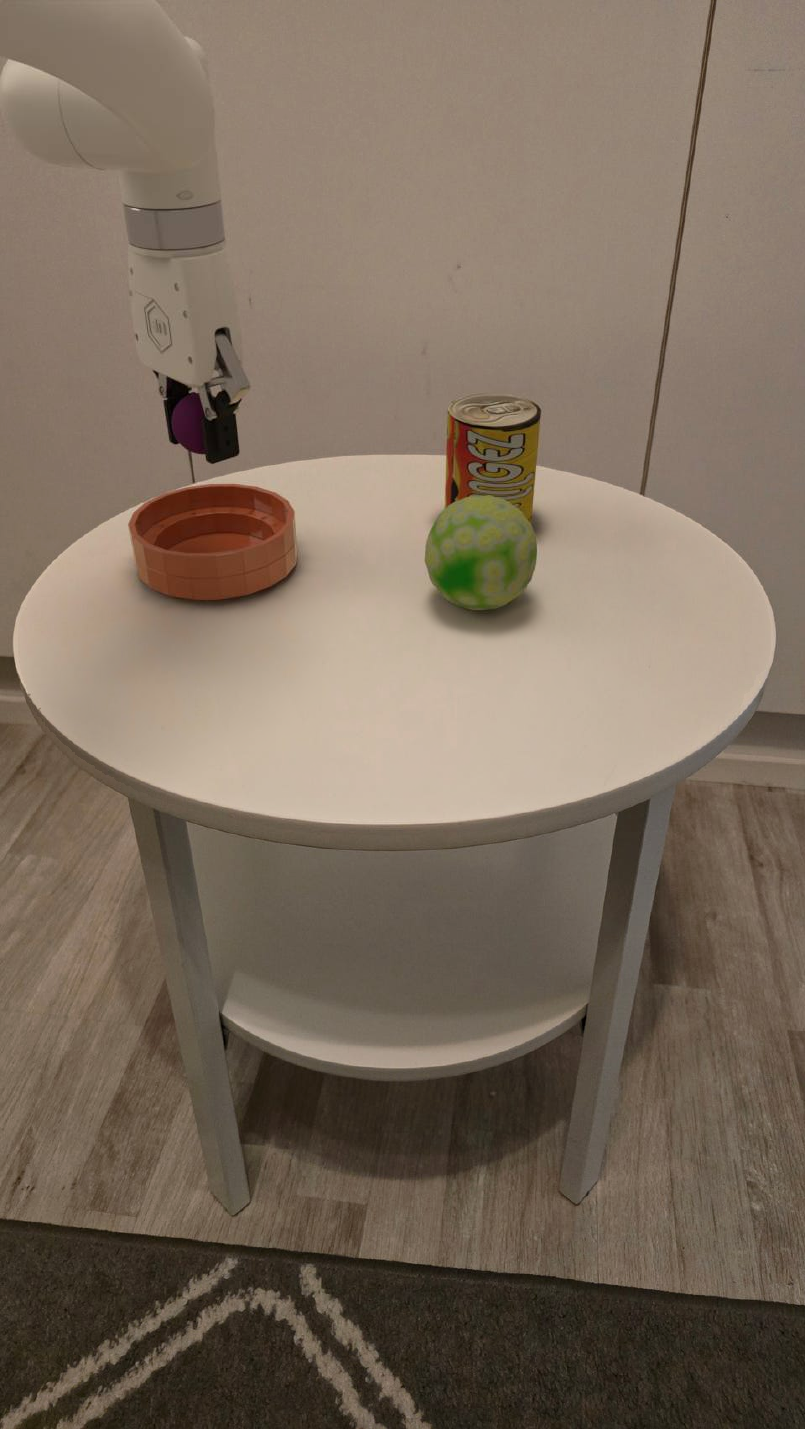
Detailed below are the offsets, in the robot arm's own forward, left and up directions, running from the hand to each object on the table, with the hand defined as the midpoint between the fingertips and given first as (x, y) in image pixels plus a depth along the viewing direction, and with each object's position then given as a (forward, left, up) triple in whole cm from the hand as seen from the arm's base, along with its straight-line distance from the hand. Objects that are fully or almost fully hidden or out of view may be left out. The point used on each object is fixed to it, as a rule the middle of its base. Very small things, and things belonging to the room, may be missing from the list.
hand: (204, 447), depth 88 cm
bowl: (0, 0, -12) cm, 12 cm away
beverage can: (+28, -2, -12) cm, 30 cm away
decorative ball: (+20, -16, -12) cm, 28 cm away
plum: (0, 0, 0) cm, 0 cm away
